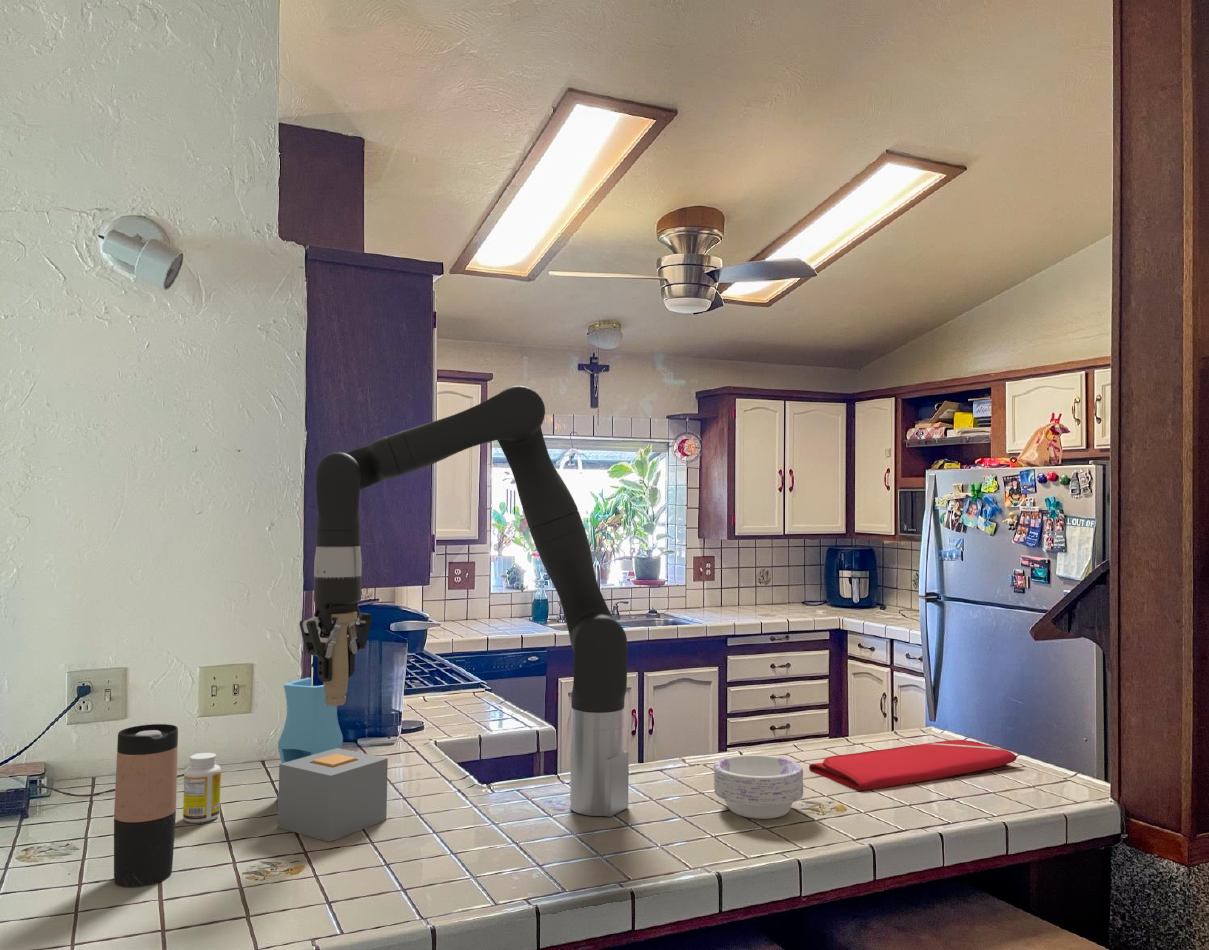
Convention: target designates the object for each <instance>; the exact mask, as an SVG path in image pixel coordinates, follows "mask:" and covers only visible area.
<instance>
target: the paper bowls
mask: <svg viewBox="0 0 1209 950" xmlns="http://www.w3.org/2000/svg"><path fill="white" fill-rule="evenodd" d="M803 779H804V770H803V766H802V765H801V764H800V763H798V762H797V761H795V760H792V759H789V758H786V757H781V756H775V755H766V754H765V755H764V754H740V755H733V756H728V757H724V758H721V759H719V760H717V761H716V762H715V763H714V765H713V785H714V786H713V788H714V794H715V795H716V796H718V797H719V798H720V799H722V800H724V801H725V804H726V807H727V808H728V809H729V811H731V812H732V813H734V814H736V815H738V816H739V817H740V816H741V817H744V818H748V819H757V820H770V819H771V820H772V819H777V818H781V817H783V816H785V815H787V813H788V812H789V811H790V810H791V808H792V806H793V803H795V802H797V801H800V800H801V799H803V796H804V780H803Z"/></svg>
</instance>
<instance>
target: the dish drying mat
mask: <svg viewBox="0 0 1209 950" xmlns="http://www.w3.org/2000/svg"><path fill="white" fill-rule="evenodd" d="M1016 760H1017V755H1016V754H1015V753H1013V752H1012V751H1010V750H1006V749H1004V748H1000V747H997V746H993V745H991V744H987V743H983V742H978V741H975V740H974V741H973V740H969V739H968V740H967V739H953V740H950V739H949V740H943V741H941V740H940V741H935V742H929V743H921V744H913V745H906V746H898V747H892V748H886V749H877V750H876V749H875V750H871V751H870V750H869V751H864V752H863V751H862V752H856V753H849V754H848V753H847V754H840V755H839V754H838V755H833V756H828V757H826V758H824V759H823V760H822V762H815V763H814V762H812V763H811V764H809V765H808V766H809V767H808V769H809V771H810V772H812V773H814V774H817V775H820V776H822V777H824V778H827V779H829V780H831V781H833V782H836V783H838V784H841V785H844V786H846V787H848V788H851V789H853V790H855V791H857V792H860V791H869V790H875V789H881V788H888V787H895V786H902V785H907V784H913V783H920V782H926V781H932V780H938V779H942V778H948V777H953V776H957V775H963V774H968V773H969V774H970V773H974V772H978V771H984V770H988V769H989V770H990V769H995V768H998V767H1002V766H1005V765H1008V764H1012V763H1014V762H1016Z"/></svg>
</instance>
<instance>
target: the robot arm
mask: <svg viewBox="0 0 1209 950" xmlns="http://www.w3.org/2000/svg"><path fill="white" fill-rule="evenodd" d="M545 415H546V407H545V403H544V401H543V399H542V397H541V396H540V395H539V394H538V392H536V391H535V390H534V389H531V388H530V387H527V386H523V385H512V386H510V387H507V388H505V389H503V390H502V391H500V392H499V393H497V394H495V395H493V396H492V397H490V398H488V399H486V400H485V401H482V402H481V403H479V404H476V405H474V406H472V407H470V408H468V409H464V410H463V411H460V412H458V413H455V414H452V415H449V416H447V417H443V418H441V419H437V420H435V421H434V420H433V421H431V422H427V423H423V424H421V425H418V426H414V427H411V428H408V429H405V430H401V431H399V432H396V433H393V434H390V435H387V436H384V437H381V438H380V439H377V440H375V441H373V442H372V443H370V444H369V445H365V446H363V447H359V448H356V449H353V450H350V451H345V452H342V451H341V452H339V451H338V452H331V453H329V454H326V456H324V457H323V458H322V459H321V460H320V461H319V462H318V465H317V467H316V471H315V493H316V509H317V520H316V529H315V530H316V533H315V534H316V539H315V540H316V541H315V544H316V547H315V554H314V561H313V563H314V564H313V565H314V567H313V569H314V570H313V602H314V603H315V605H316V608H315V611H314V614H313V617H310V618H308V619H301V620H300V621H299V628H300V631H301V636H302V640H303V643H304V647H305V650H306V654H307V655H310V656H314V657H315V658H316V659H317V671H316V672H317V677H318V679H319V681H320V682H328V681H331V680H332V658H330V657H331V656H332V651H333V646H334V644H336V642H337V638H338V633H339V629H340V627H341V624H340V623H339V616H338V617H333V618H332V614H339V613H348V612H357V619H356V620H355V621H354V622H353V623H351V624H349V625H348V626H347V647H348V666H349V668H348V669H349V672H348V673H349V676H348V679H349V678H353V676H354V673H355V670H356V654H357V653H358V651H359V650H363V649H365V648H366V645H367V641H368V637H369V634H370V628H371V626H372V625H371V624H372V621H373V614H371V613H366V612H365V613H364V612H361V610H360V607H359V604H358V603H359V602H360V603H361V600H362V565H363V564H362V562H363V560H362V551H361V518H360V514H359V512H360V511H359V510H360V507H359V506H360V491H362V490H363V489H366V488H369V487H371V486H373V485H376V484H378V483H380V482H382V481H385V480H390V479H395V478H398V477H401V476H404V475H406V474H409V473H411V472H416V471H418V470H420V469H423V468H426V467H428V466H431V465H435V464H436V463H438V462H440V461H443V460H445V459H447V458H449V457H451V456H453V455H456V454H458V453H459V452H462V451H465V450H468V449H470V448H473V447H476V446H478V445H483V444H486V443H490V442H494V441H497V443H498V444H499V446H500V448H501V450H502V452H503V455H504V457H505V459H506V461H507V463H508V465H509V467H510V469H511V472H512V476H513V478H514V482H515V485H516V490H517V494H518V497H519V500H520V504H521V507H522V511H523V514H524V516H525V520H526V524H527V527H528V528H529V529H528V530H529V532H530V535H531V538H532V540H533V543H534V546H535V549H536V551H537V554H538V556H539V558H540V560H541V562H542V565H543V566H544V569H545V571H546V573H547V575H548V578H549V579H550V582H551V583H552V585H553V586H554V588H555V590H556V593H557V595H558V598H559V602H560V604H561V608H562V611H563V615H564V618H565V619H564V620H565V622H566V626H567V630H568V635H569V640H570V645H571V649H572V650H573V681H572V682H573V684H572V691H571V695H570V696H571V704H570V705H571V709H570V712H571V716H570V719H571V720H570V724H571V725H570V727H571V728H570V795H569V796H570V798H569V799H570V801H569V803H570V807H569V808H570V810H571V811H573V812H575V813H577V814H580V815H584V816H591V817H592V816H594V817H598V816H599V817H600V816H601V817H604V816H605V817H608V818H609V817H613V816H614V815H617V814H618V813H620V812H622V811H624V810H626V809H628V808H629V778H630V777H629V774H630V772H629V771H630V769H629V767H630V766H629V765H630V764H629V763H630V762H629V761H630V760H629V757H630V755H629V752H628V751H627V750H625V698H626V693H627V686H628V648H629V647H628V639H627V635H626V632H625V629H624V628H623V626H622V625H621V624H620V623H619V622H618V621H617V620H616V619H614V616H613V615H612V613H611V610H609V609H610V608H609V607H608V604H607V603H606V601H605V599H604V597H603V594H602V592H601V590H600V587H599V584H598V580H597V578H596V574H595V569H594V567H595V566H594V562H593V556H592V551H591V547H590V541H589V538H588V535H587V531H586V528H585V526H584V522H583V520H582V516H581V514H580V511H579V509H578V507H577V504H576V502H575V500H574V498H573V497H574V496H573V495H572V494H571V492H570V490H569V488H568V487H567V485H566V483H565V482H564V480H563V478H562V477H561V475H560V473H559V472H558V471H557V469H556V467H555V466H554V463H553V461H552V459H551V457H550V454H549V451H548V448H547V445H546V441H545V438H544V433H543V431H542V425H543V422H544V420H545ZM332 621H333V624H332ZM326 636H330V637H329V638H326ZM325 644H326V647H325Z"/></svg>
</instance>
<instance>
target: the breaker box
mask: <svg viewBox="0 0 1209 950" xmlns="http://www.w3.org/2000/svg"><path fill="white" fill-rule="evenodd" d="M333 754H339V755H344V756H349V757H354V758H356V761H354V762H350V763H347V764H344V765H340V766H337V767H334V768H332V767H327V766H323V765H318V764H314V763H313V760H315V759H319V758H322V757H326V756H329V755H333ZM388 763H389V760H388V758H387V757H383V756H378V755H374V754H373V755H372V754H368V753H365V752H364V753H363V752H359V751H358V752H357V751H354V750H353V751H352V750H349V749H344V748H341V749H339V748H336V749H332V750H328V751H325V752H321V753H318V754H314V755H310V756H307V757H303V758H299V759H296V760H292V761H288V762H285V763H281V762H280V763H279V768H278V769H279V770H278V793H279V797H278V796H277V797H278V799H277V801H278V805H277V828H280V829H283V830H286V831H290V832H293V833H297V834H299V835H300V834H301V835H304V836H306V837H307V836H308V837H310V838H314V839H318V840H321V841H325V842H332V841H335V840H338V839H341V838H343V837H345V836H348V835H352V834H354V833H356V832H358V831H362V830H363V829H367V828H368V827H369V828H370V827H371V826H373V825H377V824H379V823H382V822H385V821H387V815H388V813H387V809H388V808H387V807H388V767H389V766H388Z"/></svg>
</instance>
